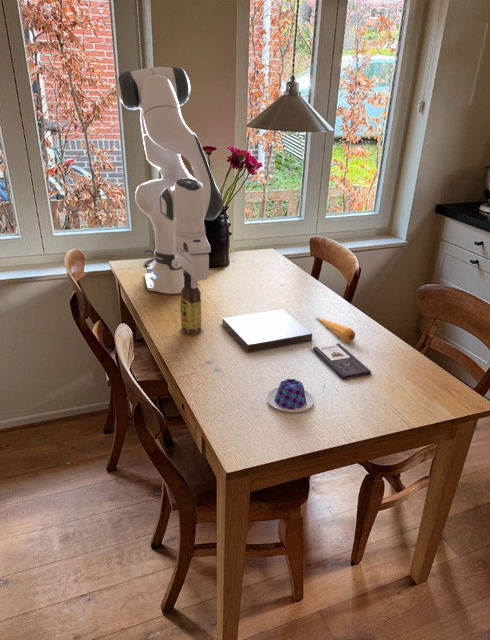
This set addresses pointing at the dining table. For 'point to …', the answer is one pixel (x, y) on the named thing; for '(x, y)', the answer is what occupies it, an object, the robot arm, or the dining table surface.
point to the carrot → (340, 330)
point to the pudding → (290, 396)
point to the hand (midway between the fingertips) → (190, 284)
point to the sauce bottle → (190, 307)
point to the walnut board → (266, 330)
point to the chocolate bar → (341, 361)
